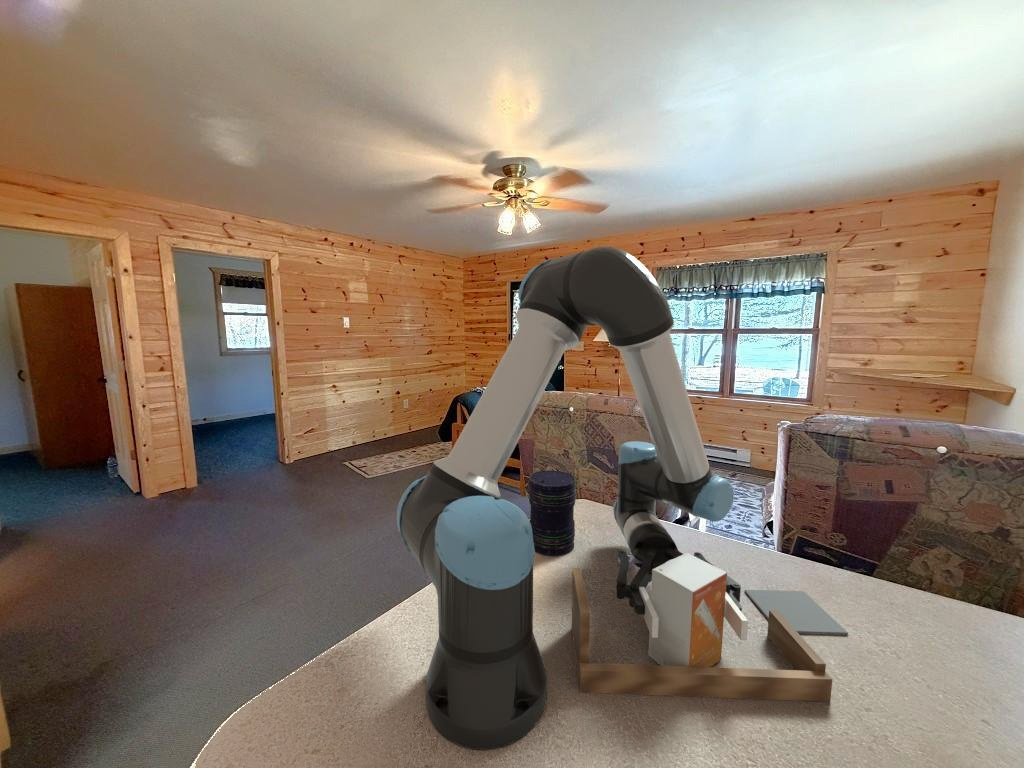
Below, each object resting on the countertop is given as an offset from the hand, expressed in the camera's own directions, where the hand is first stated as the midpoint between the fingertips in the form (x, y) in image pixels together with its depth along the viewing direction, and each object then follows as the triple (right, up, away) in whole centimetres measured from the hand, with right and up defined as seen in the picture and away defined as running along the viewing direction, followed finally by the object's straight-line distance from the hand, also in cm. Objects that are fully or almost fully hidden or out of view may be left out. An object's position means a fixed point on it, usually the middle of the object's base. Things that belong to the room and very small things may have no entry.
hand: (699, 629), depth 52 cm
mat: (+22, -6, +14) cm, 27 cm away
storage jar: (-15, -4, +36) cm, 39 cm away
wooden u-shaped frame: (0, -7, +5) cm, 9 cm away
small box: (0, -7, +5) cm, 9 cm away
